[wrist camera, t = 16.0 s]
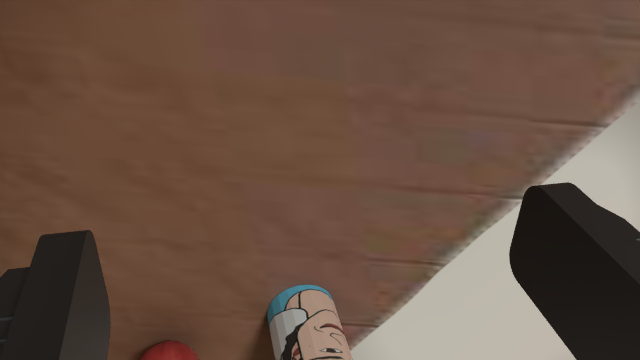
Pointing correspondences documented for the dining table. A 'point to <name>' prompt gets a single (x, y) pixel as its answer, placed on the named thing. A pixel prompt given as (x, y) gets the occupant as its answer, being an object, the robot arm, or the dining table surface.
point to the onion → (170, 352)
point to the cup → (306, 326)
